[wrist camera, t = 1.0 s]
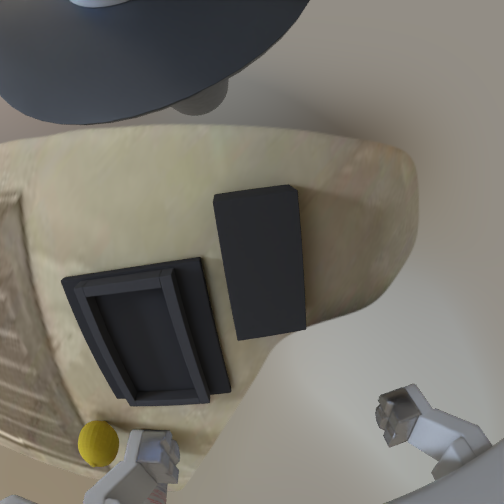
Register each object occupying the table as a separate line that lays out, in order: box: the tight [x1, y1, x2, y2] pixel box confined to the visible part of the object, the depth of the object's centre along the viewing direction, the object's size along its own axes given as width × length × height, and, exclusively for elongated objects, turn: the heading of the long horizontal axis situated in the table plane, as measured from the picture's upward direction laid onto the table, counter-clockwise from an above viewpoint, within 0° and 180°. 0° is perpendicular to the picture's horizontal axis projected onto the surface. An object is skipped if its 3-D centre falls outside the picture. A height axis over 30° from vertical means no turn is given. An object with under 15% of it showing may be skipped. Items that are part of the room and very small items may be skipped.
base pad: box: [61, 257, 231, 406], centre depth 27 cm, size 16×14×2 cm
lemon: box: [78, 421, 119, 467], centre depth 29 cm, size 6×6×8 cm
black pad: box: [213, 185, 306, 341], centre depth 24 cm, size 12×6×3 cm, turn 7°
